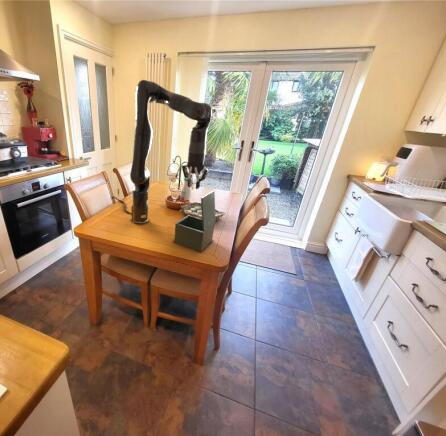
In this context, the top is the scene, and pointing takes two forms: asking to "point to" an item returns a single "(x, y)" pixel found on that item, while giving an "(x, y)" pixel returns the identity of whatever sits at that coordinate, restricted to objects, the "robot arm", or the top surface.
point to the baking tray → (198, 210)
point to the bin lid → (208, 210)
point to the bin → (193, 233)
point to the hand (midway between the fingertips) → (193, 187)
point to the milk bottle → (185, 191)
